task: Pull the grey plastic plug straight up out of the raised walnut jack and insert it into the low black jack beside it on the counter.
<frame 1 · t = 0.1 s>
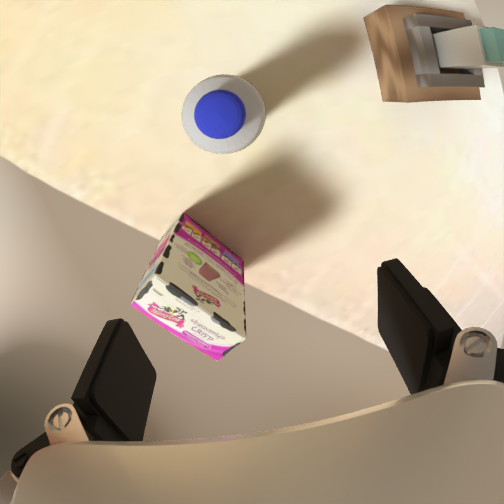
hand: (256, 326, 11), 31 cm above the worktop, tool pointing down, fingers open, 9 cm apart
bottle: (229, 112, 36), on the worktop
candy bar box: (203, 248, 44), on the worktop
plug: (439, 52, 26), point 7 cm above the worktop, touching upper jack
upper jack: (411, 57, 33), on the worktop
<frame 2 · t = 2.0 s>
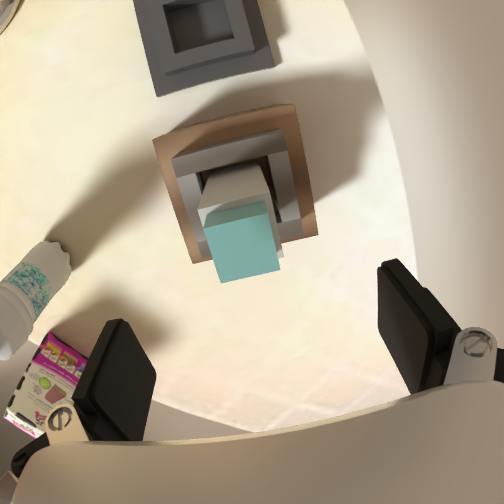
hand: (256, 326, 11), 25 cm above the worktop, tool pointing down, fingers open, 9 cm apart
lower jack: (201, 29, 26), on the worktop
bottle: (56, 257, 36), on the worktop
candy bar box: (71, 356, 44), on the worktop
plug: (239, 187, 27), point 7 cm above the worktop, touching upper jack
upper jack: (238, 170, 33), on the worktop
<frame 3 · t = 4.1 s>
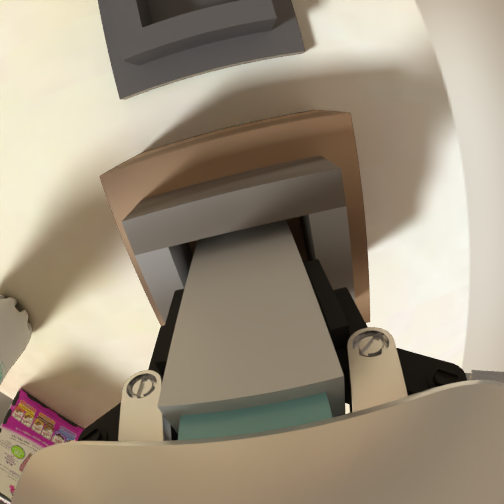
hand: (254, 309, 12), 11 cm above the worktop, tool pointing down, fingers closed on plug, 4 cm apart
bottle: (14, 313, 26), on the worktop
candy bar box: (49, 414, 34), on the worktop
plug: (250, 258, 16), point 7 cm above the worktop, touching gripper, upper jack
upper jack: (247, 212, 22), on the worktop
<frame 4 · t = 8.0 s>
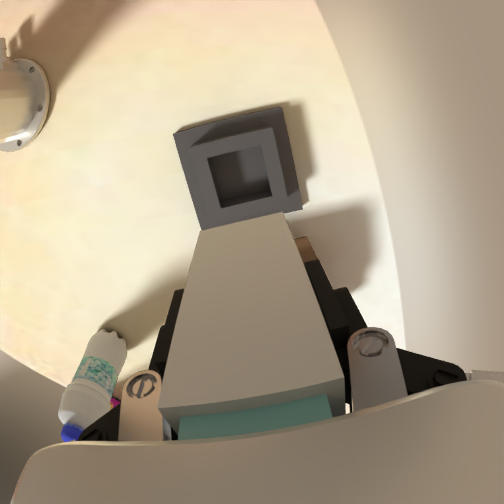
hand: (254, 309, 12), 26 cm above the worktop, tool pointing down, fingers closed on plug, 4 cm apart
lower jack: (239, 169, 35), on the worktop
bottle: (111, 339, 46), on the worktop
plug: (250, 258, 16), point 22 cm above the worktop, touching gripper
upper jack: (269, 287, 42), on the worktop
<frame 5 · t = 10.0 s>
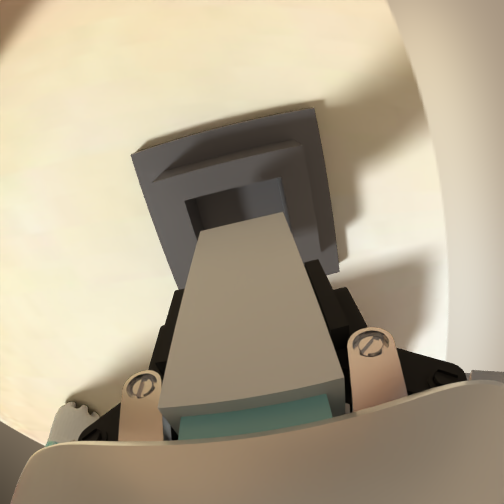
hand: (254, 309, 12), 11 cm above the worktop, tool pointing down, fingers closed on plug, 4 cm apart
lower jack: (242, 211, 22), on the worktop
bottle: (83, 411, 32), on the worktop
plug: (250, 258, 16), point 7 cm above the worktop, touching gripper
when the fingers open (7 cm above the worktop, at t = 11.7 s): plug drops 1 cm, resting on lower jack.
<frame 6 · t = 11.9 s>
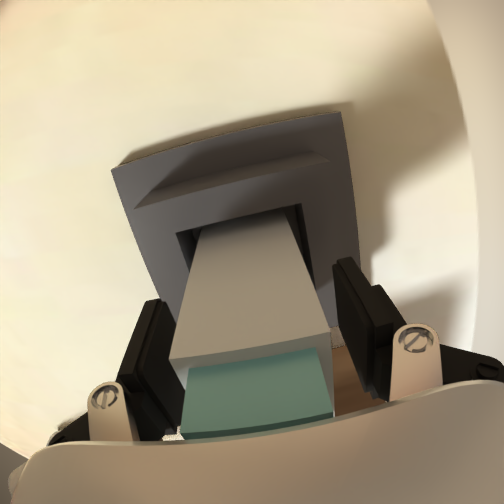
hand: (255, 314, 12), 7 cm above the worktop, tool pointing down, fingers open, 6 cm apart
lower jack: (249, 238, 18), on the worktop
plug: (250, 245, 17), point 1 cm above the worktop, touching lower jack
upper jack: (292, 405, 25), on the worktop
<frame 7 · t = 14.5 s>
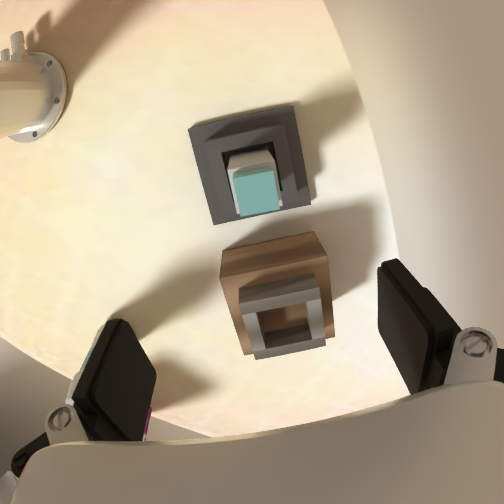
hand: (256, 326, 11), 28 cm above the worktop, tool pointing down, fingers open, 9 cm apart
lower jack: (251, 165, 37), on the worktop
bottle: (119, 331, 47), on the worktop
plug: (251, 166, 36), point 1 cm above the worktop, touching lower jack
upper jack: (276, 280, 43), on the worktop
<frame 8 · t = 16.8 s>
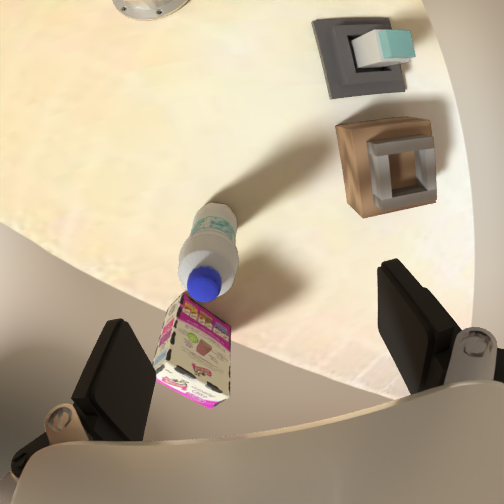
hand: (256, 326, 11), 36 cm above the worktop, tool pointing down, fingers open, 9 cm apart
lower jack: (359, 56, 37), on the worktop
bottle: (216, 218, 48), on the worktop
candy bar box: (199, 317, 56), on the worktop
plug: (362, 55, 36), point 1 cm above the worktop, touching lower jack
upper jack: (377, 158, 44), on the worktop
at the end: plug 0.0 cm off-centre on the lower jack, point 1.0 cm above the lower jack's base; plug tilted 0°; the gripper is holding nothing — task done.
